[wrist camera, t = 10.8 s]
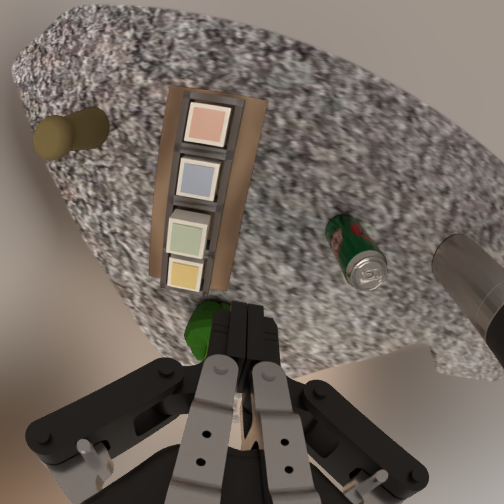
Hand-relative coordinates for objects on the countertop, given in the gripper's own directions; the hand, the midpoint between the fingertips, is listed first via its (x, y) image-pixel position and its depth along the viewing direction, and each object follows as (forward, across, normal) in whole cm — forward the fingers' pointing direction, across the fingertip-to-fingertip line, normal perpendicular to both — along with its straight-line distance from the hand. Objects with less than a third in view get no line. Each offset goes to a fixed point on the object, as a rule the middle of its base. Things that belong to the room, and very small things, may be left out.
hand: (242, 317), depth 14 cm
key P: (+25, +6, +13) cm, 29 cm away
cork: (+27, +23, -4) cm, 36 cm away
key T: (+25, +6, 0) cm, 26 cm away
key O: (+25, +6, -6) cm, 26 cm away
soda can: (+27, -14, +4) cm, 31 cm away
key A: (+23, +6, +6) cm, 24 cm away
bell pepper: (+27, +1, +22) cm, 35 cm away
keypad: (+27, +6, +3) cm, 28 cm away
